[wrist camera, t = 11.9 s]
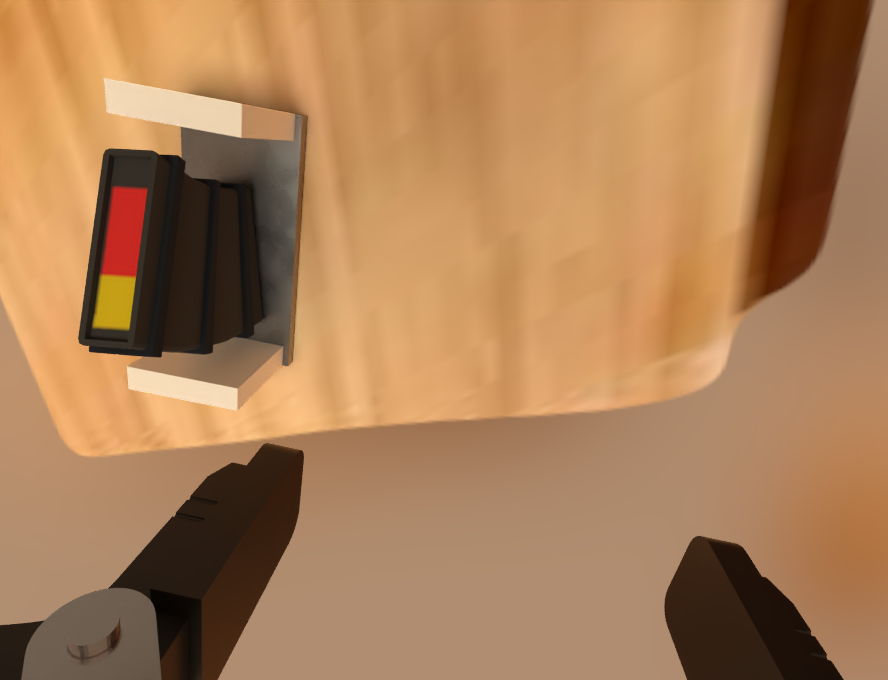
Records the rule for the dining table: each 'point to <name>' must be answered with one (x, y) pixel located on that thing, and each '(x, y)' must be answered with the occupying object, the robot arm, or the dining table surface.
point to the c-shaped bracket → (237, 360)
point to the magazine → (168, 260)
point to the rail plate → (262, 213)
